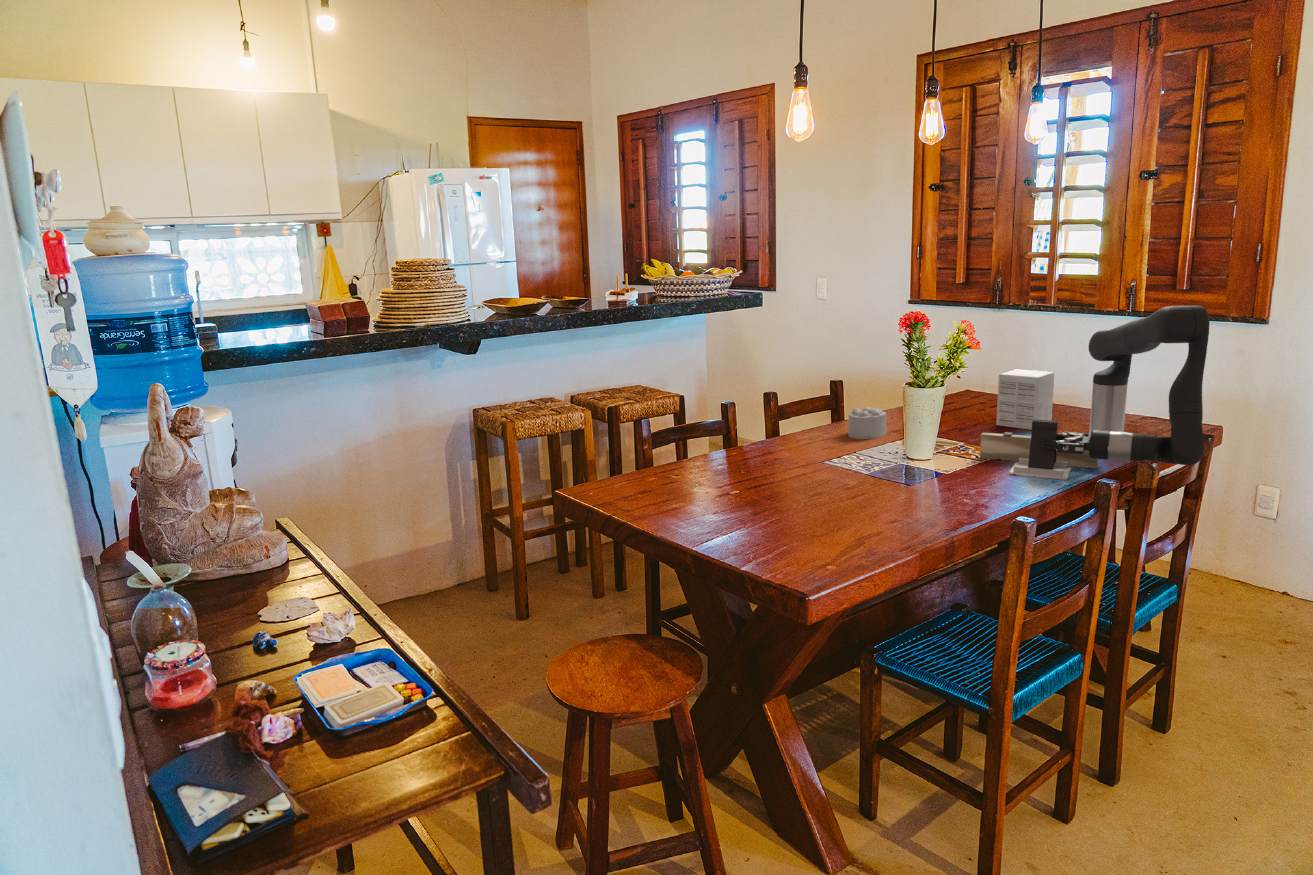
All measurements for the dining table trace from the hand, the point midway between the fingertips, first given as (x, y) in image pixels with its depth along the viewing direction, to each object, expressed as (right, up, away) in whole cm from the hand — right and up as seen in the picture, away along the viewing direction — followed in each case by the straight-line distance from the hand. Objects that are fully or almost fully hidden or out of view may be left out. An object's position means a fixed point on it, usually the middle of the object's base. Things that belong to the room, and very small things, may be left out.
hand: (1042, 440), depth 220 cm
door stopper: (+1, -7, +1) cm, 7 cm away
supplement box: (+20, +5, +56) cm, 60 cm away
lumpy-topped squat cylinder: (-34, +1, +52) cm, 62 cm away
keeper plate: (0, -8, +2) cm, 9 cm away
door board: (+4, -6, +11) cm, 13 cm away
